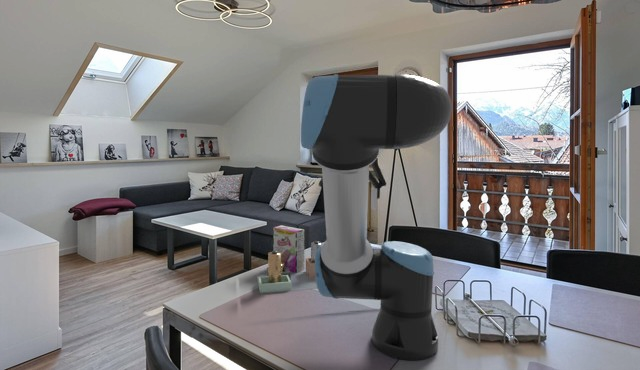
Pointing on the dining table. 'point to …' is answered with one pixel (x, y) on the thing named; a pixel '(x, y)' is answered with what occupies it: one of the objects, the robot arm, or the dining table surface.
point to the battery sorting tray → (290, 280)
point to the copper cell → (274, 267)
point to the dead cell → (314, 249)
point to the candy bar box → (290, 246)
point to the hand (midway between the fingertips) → (352, 210)
